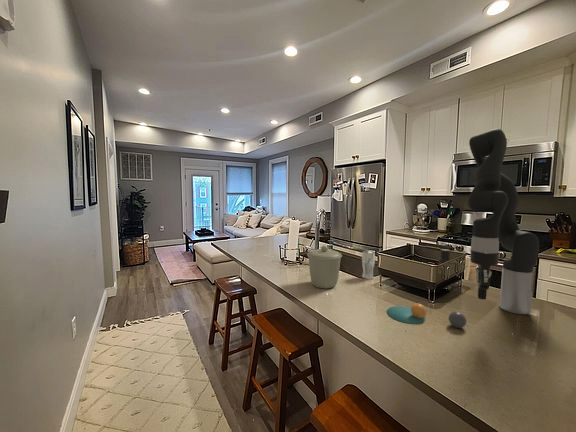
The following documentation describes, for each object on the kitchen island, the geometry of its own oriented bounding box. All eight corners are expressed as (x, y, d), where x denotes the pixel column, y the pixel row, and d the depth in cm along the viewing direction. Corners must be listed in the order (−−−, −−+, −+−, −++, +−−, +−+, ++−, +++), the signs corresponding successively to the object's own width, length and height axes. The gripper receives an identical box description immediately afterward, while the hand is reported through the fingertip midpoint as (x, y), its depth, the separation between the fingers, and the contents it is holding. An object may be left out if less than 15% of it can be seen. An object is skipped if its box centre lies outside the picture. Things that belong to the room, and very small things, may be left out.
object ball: (416, 298, 103) (409, 308, 105) (414, 303, 98) (407, 314, 100) (430, 307, 100) (422, 317, 102) (428, 313, 96) (420, 323, 98)
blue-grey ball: (451, 306, 96) (445, 318, 97) (453, 312, 91) (446, 325, 93) (468, 314, 94) (461, 326, 95) (470, 321, 89) (463, 333, 90)
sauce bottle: (453, 291, 126) (455, 251, 124) (439, 290, 127) (441, 251, 125) (447, 286, 132) (450, 248, 130) (434, 285, 134) (436, 248, 132)
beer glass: (374, 276, 148) (375, 251, 146) (374, 280, 141) (375, 253, 140) (361, 275, 150) (362, 250, 149) (361, 279, 144) (361, 252, 142)
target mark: (426, 311, 105) (426, 311, 105) (423, 327, 93) (423, 327, 93) (390, 303, 112) (390, 303, 112) (383, 317, 100) (383, 317, 100)
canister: (346, 282, 138) (347, 244, 136) (333, 294, 123) (334, 251, 120) (316, 276, 147) (316, 241, 145) (300, 287, 132) (300, 247, 130)
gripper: (468, 244, 95) (466, 290, 96) (473, 252, 83) (470, 303, 85) (494, 246, 91) (491, 293, 93) (502, 255, 79) (499, 308, 81)
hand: (481, 298), depth 89 cm, fingers closed
